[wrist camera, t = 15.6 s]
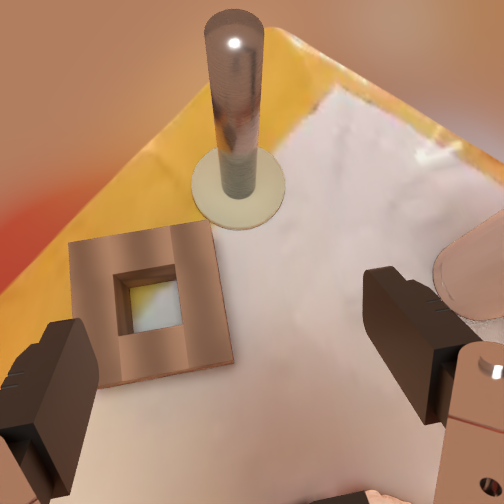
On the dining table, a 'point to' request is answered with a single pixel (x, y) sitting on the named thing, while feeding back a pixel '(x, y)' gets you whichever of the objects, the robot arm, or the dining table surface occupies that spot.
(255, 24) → the metallic grey cylinder
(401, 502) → the bust
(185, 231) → the brown square frame
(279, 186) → the mat
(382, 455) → the dining table surface
